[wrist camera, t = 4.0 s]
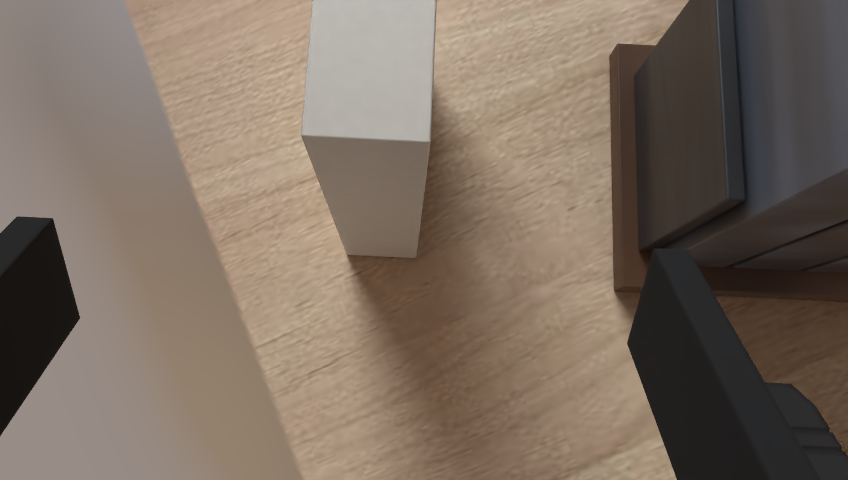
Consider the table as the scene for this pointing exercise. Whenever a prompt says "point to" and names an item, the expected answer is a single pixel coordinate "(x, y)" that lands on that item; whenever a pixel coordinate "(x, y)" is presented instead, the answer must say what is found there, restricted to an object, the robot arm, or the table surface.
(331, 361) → the table surface
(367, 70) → the white book
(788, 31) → the grey book row
